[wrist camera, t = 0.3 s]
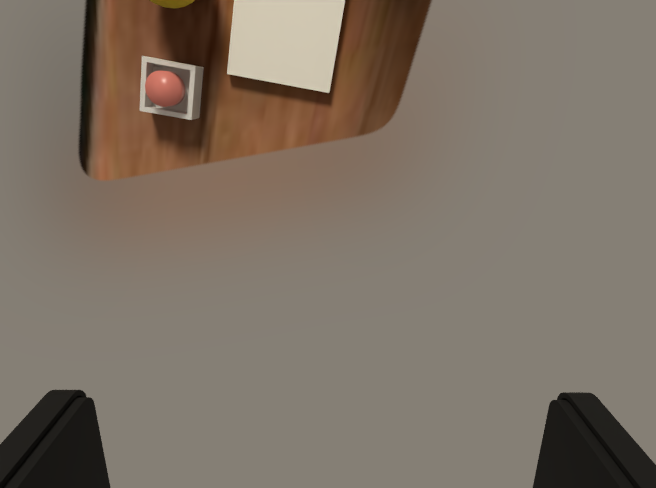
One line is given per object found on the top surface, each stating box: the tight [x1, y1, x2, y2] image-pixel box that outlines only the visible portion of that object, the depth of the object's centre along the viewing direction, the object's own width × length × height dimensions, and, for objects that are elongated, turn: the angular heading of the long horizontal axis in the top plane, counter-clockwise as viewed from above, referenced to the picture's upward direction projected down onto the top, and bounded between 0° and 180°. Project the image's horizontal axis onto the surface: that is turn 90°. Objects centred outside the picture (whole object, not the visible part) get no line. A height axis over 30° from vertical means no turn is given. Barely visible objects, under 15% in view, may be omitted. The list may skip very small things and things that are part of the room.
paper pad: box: [227, 0, 345, 93], centre depth 39 cm, size 9×9×1 cm
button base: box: [140, 56, 204, 120], centre depth 40 cm, size 4×4×3 cm
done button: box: [145, 70, 185, 107], centre depth 38 cm, size 3×3×2 cm
